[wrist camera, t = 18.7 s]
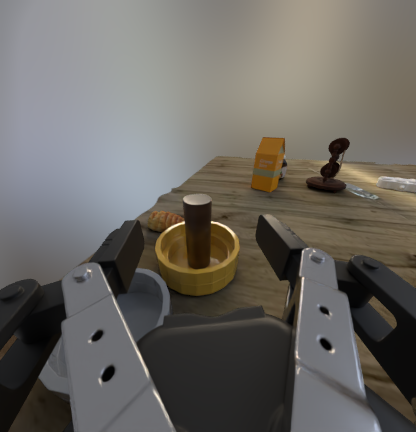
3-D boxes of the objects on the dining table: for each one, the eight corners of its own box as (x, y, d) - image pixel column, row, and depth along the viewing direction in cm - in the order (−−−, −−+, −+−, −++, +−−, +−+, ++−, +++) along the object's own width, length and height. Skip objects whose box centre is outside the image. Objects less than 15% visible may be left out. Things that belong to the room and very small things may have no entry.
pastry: (188, 221, 44) (187, 209, 43) (181, 235, 39) (180, 222, 37) (157, 218, 46) (155, 207, 44) (145, 232, 40) (142, 219, 38)
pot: (72, 462, 12) (40, 453, 10) (52, 334, 20) (31, 312, 18) (193, 332, 20) (191, 309, 18) (146, 276, 28) (140, 255, 26)
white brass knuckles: (417, 185, 74) (441, 196, 62) (368, 180, 80) (381, 189, 69) (422, 178, 72) (447, 188, 61) (371, 174, 79) (386, 182, 67)
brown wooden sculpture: (341, 196, 62) (366, 139, 52) (300, 187, 70) (315, 137, 61) (345, 187, 71) (368, 138, 61) (309, 180, 80) (324, 136, 70)
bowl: (196, 318, 22) (194, 293, 19) (145, 263, 31) (139, 240, 28) (251, 262, 31) (255, 240, 28) (200, 232, 40) (199, 213, 37)
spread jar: (266, 180, 80) (271, 156, 74) (259, 175, 89) (262, 153, 84) (289, 180, 80) (296, 156, 74) (280, 174, 90) (285, 153, 84)
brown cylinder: (198, 274, 28) (196, 207, 21) (182, 261, 30) (176, 198, 24) (215, 261, 31) (217, 198, 24) (199, 250, 33) (198, 191, 27)
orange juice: (270, 192, 65) (281, 138, 55) (250, 187, 70) (257, 137, 60) (277, 187, 70) (288, 137, 61) (258, 183, 75) (266, 136, 66)
